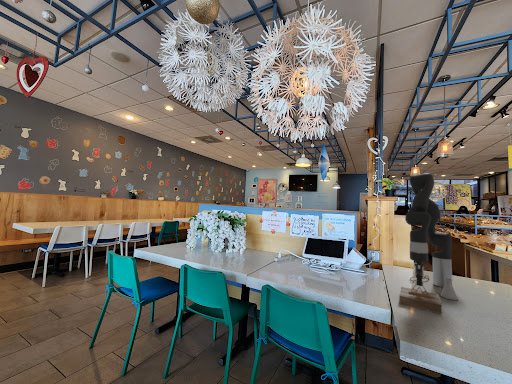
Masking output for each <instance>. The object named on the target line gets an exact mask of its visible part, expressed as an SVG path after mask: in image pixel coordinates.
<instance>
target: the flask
mask: <svg viewBox="0 0 512 384" xmlns="http://www.w3.org/2000/svg"><path fill="white" fill-rule="evenodd" d="M439 296H440V297H442V298H444V299H446V300H450V301H451V300H452V301H458V300H459V298H458V295H457V294H456V291H455V289H454V286H453V278H452V279H450V278H445V285H444V287H442V290H441V292H440V295H439Z"/></svg>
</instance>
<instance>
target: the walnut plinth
mask: <svg viewBox="0 0 512 384" xmlns="http://www.w3.org/2000/svg"><path fill="white" fill-rule="evenodd" d="M414 289H415V288H414ZM414 289H413V291H415V290H417V289H415V290H414ZM409 290H412V288H409V287H405V286H404V287H403V286H401V287H400V290H399V292H400V293H399V305H403V306H407V307H412V308H415V309H420V310H423V311H427V310H428V311H427V312H431V311H432V313H435V312H436V314H439V313H440V314H439V315H443V308H442V302H441V298H440V297H441V296H440V295H439V294H438V293H433V292H428V291H427V292H423V291H424V290H422V291H421V290H419V289H418V290H417V291H418V292H423V293H428V294H430V295H431V298H426V297H421V296H417V295H412V294H409Z"/></svg>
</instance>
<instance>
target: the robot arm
mask: <svg viewBox="0 0 512 384" xmlns="http://www.w3.org/2000/svg"><path fill="white" fill-rule="evenodd" d="M409 184H410V187H411V189H412V191H413V195H414V197H413V198H412V201H411V207H409V210H408V211H407V212H406V214H405V218H404V219H405V222H406V223H407V224H408V226H417V227H418V226H419V227H420V226H421V228H419V229H412V230H410V232H409V259H410V260H411V261H415V262H414V264H413V267H414V274H415V273H416V276H415V279H416V284H417V285H416V286H418V287H423V286H422V281H423V279H422V278H424V276H423V275H422V274H424V269H425V264H423V262H424V263H426V262H429V247H428V242H429V244H430V245H431V246H434V247H439V248H442V250H440V251H434V252H433V251H432V255H431V256H432V258H431V259H432V284H433V285H434V286H437V287H441V288H444V285H445V278H450V279H452V280H453V269H452V268H453V267H452V264H453V263H452V256H453V250H452V249H453V248H452V247H453V237H452V235H451V234H450V233H449V232H440V231H436V230H435V228H436V225H437V224H438V222H439V221H440V220H441V211H440V207H439V206H438V204H437V203H436V202H435V201H434V200H432V199H431V198H430V197H431V195H432V192H433V190H434V189H433V188H434V186H435V178H434V176H433V174H432V173H430V172H425V173H420V174H414V175H411V176H410V177H409ZM420 274H421V275H420Z"/></svg>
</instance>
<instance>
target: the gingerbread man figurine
mask: <svg viewBox="0 0 512 384" xmlns="http://www.w3.org/2000/svg"><path fill="white" fill-rule="evenodd" d="M424 274H425V273H423V274H422V276H423V278H422V286H418V285H417V283H415V282H417V279H414V280H413V279H412V278H414V277H416V273H415V272H414V275H415V276H411V277H410V278H409V283H410V284H414V283H415V285H413V287H412V288H411V289H412V290H409V294H412V295H417V296H421V297H426V298H431V295H430V294H428V293H423V292H428V291H427V289H426V287H424V283H427V282H429V281H430V277H429V276H428V275H424ZM420 275H421V274H420ZM425 279H426V280H425ZM423 280H424V281H423ZM416 286H418V288H417V289H415V288H416ZM421 287H422V288H423V289H424V290H422V289H421ZM413 289H414V290H415V291H413ZM419 289H420V291H423V292H418V291H417V290H419Z"/></svg>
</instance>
